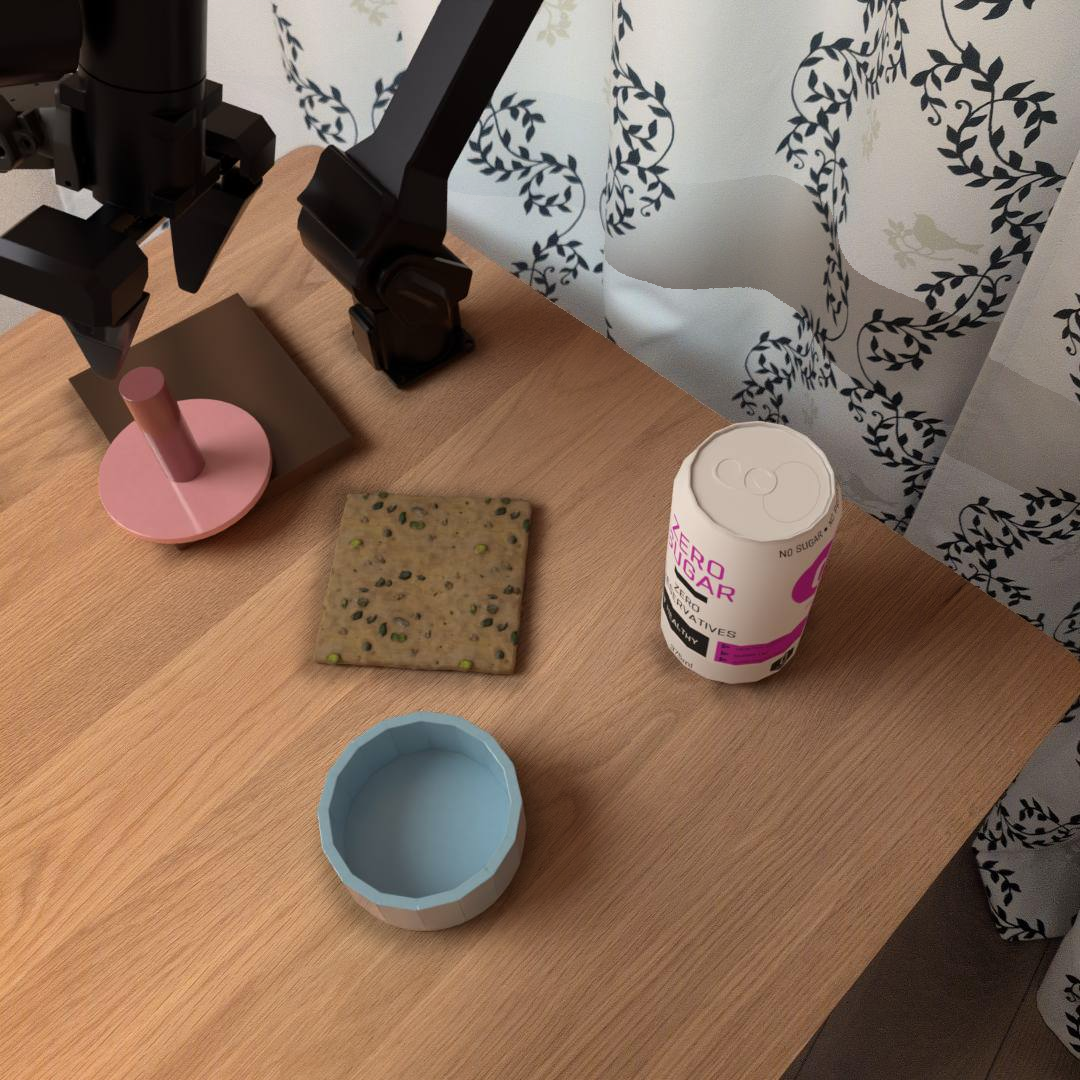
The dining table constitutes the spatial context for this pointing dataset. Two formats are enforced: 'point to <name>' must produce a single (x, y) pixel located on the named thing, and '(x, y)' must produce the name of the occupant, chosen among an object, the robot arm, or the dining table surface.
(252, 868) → the dining table surface
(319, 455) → the board
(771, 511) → the supplement can
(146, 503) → the lid
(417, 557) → the cookie
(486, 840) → the bowl
